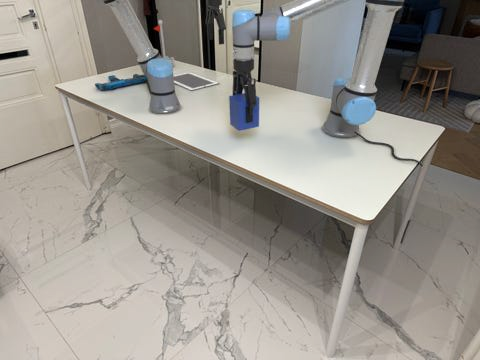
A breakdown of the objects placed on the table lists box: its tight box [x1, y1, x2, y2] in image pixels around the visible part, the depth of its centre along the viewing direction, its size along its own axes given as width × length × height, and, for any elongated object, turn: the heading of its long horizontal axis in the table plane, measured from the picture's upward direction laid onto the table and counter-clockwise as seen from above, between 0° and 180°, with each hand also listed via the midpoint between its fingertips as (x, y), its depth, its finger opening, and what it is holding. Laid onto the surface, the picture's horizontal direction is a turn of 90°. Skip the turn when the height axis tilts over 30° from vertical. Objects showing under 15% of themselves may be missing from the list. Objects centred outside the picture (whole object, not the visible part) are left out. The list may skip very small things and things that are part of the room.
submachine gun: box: [94, 73, 149, 91], centre depth 208 cm, size 34×4×25 cm
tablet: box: [173, 71, 220, 91], centre depth 211 cm, size 32×20×1 cm, turn 41°
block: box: [228, 92, 260, 132], centre depth 132 cm, size 9×8×12 cm
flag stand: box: [153, 19, 176, 67], centre depth 232 cm, size 13×13×30 cm
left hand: (216, 41), depth 179 cm, fingers open, 13 cm apart
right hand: (244, 118), depth 133 cm, fingers closed on block, 8 cm apart
